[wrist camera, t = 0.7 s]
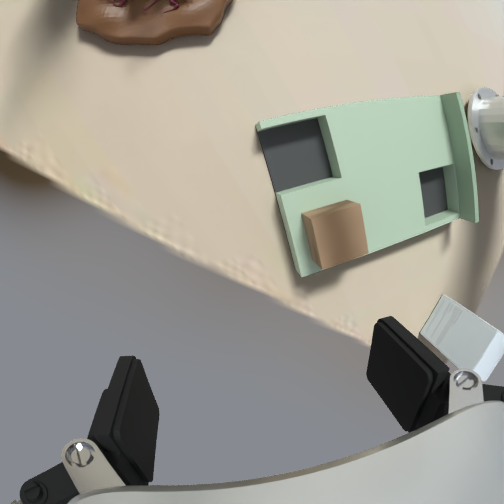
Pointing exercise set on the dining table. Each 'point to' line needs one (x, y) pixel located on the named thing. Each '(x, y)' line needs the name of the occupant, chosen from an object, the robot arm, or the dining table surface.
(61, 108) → the dining table surface
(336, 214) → the walnut block
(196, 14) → the plant
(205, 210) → the dining table surface
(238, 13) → the dining table surface
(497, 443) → the robot arm
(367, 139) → the board
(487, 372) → the supplement box
